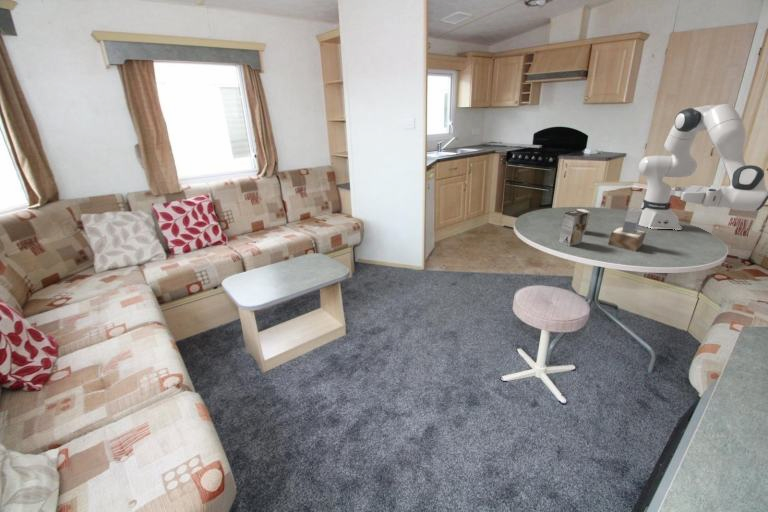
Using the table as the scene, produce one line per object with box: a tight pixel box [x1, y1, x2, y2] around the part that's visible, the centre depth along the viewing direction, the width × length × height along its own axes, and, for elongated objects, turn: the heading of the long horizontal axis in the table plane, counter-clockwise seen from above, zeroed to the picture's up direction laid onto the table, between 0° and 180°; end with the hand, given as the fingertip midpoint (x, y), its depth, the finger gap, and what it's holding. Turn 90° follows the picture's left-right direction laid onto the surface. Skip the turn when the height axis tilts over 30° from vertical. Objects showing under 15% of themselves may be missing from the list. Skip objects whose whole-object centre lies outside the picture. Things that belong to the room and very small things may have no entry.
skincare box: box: [576, 208, 591, 234], centre depth 197 cm, size 6×4×12 cm
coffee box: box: [558, 209, 588, 247], centre depth 181 cm, size 9×6×16 cm
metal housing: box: [622, 207, 643, 234], centre depth 177 cm, size 5×5×11 cm
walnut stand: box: [608, 226, 647, 252], centre depth 180 cm, size 12×12×7 cm
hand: (673, 190), depth 162 cm, fingers open, 8 cm apart
